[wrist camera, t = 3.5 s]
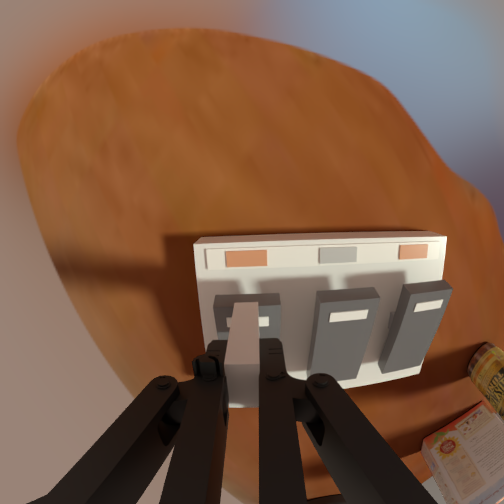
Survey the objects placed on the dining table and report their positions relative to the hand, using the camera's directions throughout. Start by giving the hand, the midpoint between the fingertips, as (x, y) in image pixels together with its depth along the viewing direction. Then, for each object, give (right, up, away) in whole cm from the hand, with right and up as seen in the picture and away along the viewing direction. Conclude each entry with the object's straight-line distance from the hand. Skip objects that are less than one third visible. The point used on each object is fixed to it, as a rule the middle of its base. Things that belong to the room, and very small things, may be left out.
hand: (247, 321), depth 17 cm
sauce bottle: (+34, -11, +10) cm, 37 cm away
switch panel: (+7, -1, +8) cm, 11 cm away
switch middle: (+7, -2, +3) cm, 8 cm away
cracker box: (+36, -27, +14) cm, 47 cm away
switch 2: (+14, -2, +3) cm, 15 cm away
